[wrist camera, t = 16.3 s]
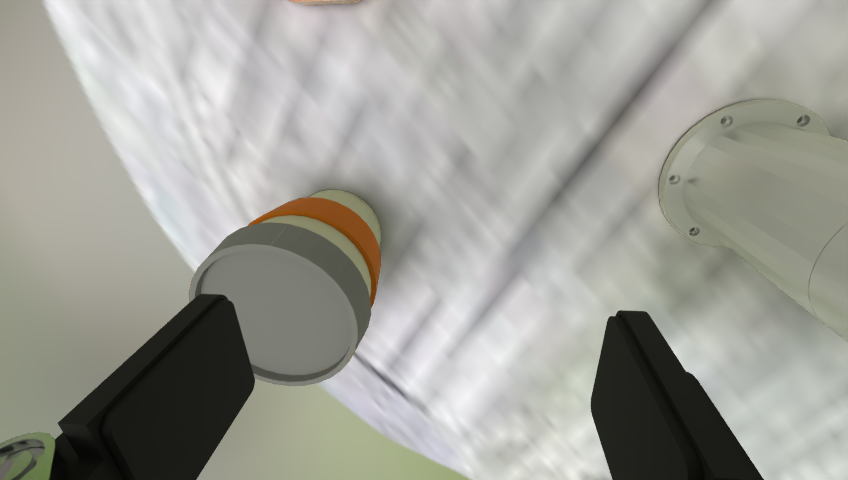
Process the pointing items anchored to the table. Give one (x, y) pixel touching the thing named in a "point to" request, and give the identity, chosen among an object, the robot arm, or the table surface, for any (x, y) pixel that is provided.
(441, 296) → the table surface
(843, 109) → the table surface
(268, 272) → the reusable coffee cup
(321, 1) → the round bowl
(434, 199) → the table surface
